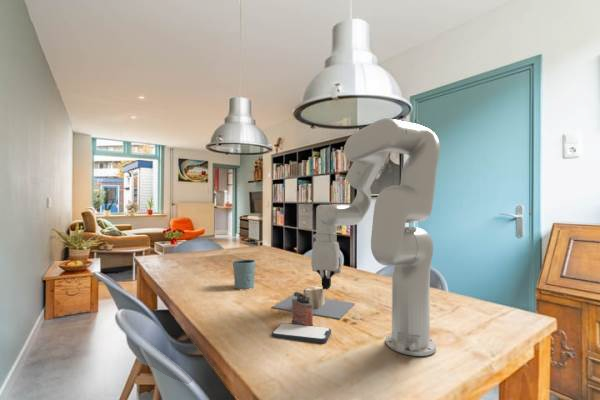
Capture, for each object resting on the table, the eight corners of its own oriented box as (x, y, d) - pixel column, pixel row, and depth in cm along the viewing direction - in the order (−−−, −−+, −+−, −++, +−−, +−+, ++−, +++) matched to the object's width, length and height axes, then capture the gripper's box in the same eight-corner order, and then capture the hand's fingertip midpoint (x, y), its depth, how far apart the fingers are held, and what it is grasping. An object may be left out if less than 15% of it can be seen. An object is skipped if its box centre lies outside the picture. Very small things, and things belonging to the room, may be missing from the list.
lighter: (315, 327, 95) (315, 294, 95) (308, 330, 92) (308, 296, 93) (296, 320, 100) (296, 289, 101) (289, 323, 98) (289, 291, 98)
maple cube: (318, 291, 112) (303, 289, 114) (318, 308, 111) (303, 306, 114) (324, 287, 117) (310, 285, 120) (324, 303, 117) (310, 301, 119)
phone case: (270, 339, 88) (325, 345, 83) (270, 333, 88) (325, 339, 83) (281, 327, 96) (331, 333, 92) (281, 322, 96) (331, 327, 92)
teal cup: (253, 290, 136) (253, 263, 136) (230, 290, 136) (230, 263, 137) (256, 284, 146) (256, 259, 147) (235, 284, 146) (235, 259, 147)
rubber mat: (339, 319, 102) (339, 318, 102) (271, 307, 113) (271, 306, 113) (354, 304, 118) (354, 302, 118) (293, 295, 129) (293, 294, 129)
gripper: (303, 238, 114) (303, 288, 113) (342, 240, 107) (342, 293, 107) (311, 236, 121) (311, 283, 120) (349, 238, 114) (349, 288, 114)
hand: (326, 288), depth 114 cm, fingers closed
